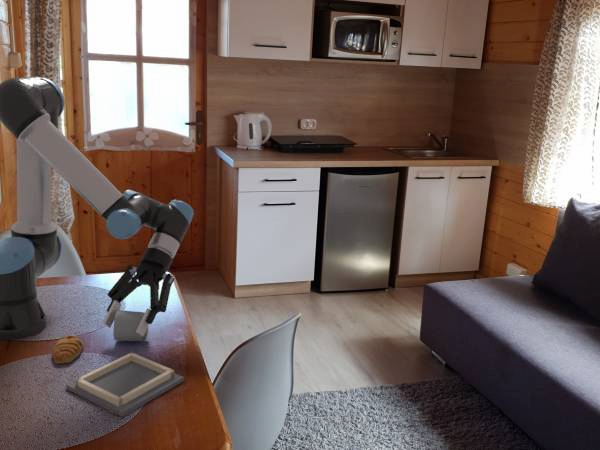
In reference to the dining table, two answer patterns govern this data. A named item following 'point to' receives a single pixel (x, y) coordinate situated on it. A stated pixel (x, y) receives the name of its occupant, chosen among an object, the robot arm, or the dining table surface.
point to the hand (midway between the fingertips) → (122, 329)
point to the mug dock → (125, 383)
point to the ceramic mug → (128, 326)
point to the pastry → (67, 349)
